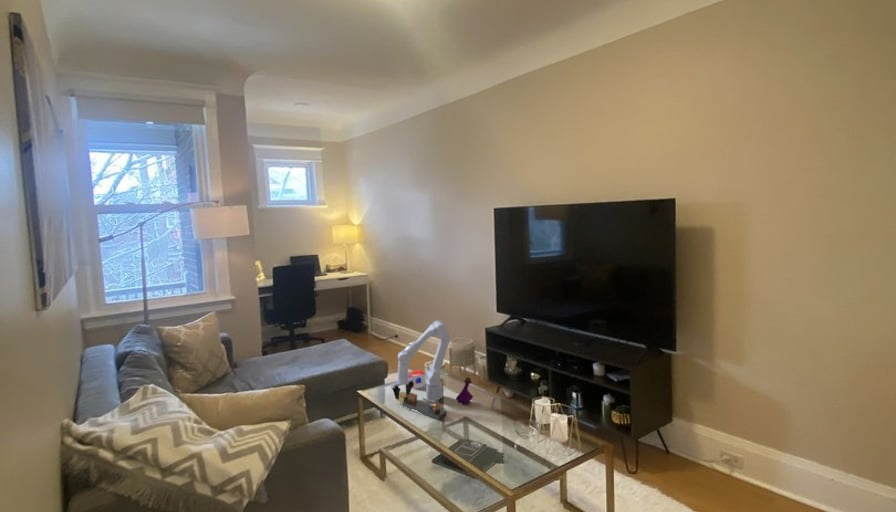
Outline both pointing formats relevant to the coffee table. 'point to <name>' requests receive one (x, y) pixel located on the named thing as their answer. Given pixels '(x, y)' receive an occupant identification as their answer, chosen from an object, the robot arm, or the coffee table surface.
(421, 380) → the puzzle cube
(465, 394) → the perfume bottle
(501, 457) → the coffee table surface
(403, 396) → the lever cap
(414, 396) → the hand plane
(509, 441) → the coffee table surface
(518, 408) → the coffee table surface
